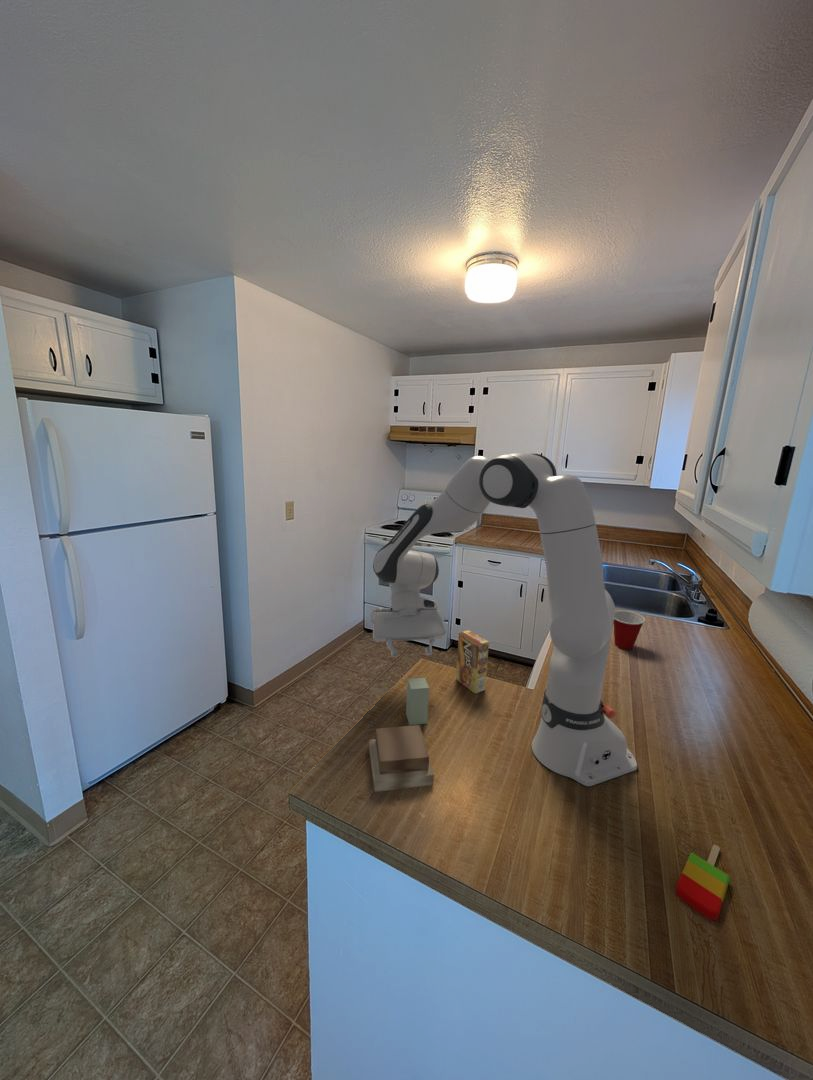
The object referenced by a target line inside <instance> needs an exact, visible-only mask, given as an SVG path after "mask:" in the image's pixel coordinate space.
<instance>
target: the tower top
mask: <svg viewBox="0 0 813 1080" xmlns="http://www.w3.org/2000/svg"><path fill="white" fill-rule="evenodd" d="M375 739H376V747H377V754H378V762H379V769H380V774H389V773H399V772H409V771H419V770H429V762H430V755H429V751H428V748H427V745H426V742H425V738H424V735H423V732H422V728H421V724H418V725H407V726H406V725H405V726H393V727H390V726H389V727H381V728H380V727H379V728H375Z"/></svg>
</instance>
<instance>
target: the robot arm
mask: <svg viewBox="0 0 813 1080" xmlns="http://www.w3.org/2000/svg"><path fill="white" fill-rule="evenodd" d="M557 473H558V472H557V469H556V466H555V465H554V463H553V462H552V460H551V459H550V458H548V457H547V456H544V455H543V454H539V453H526V452H514V453H513V452H512V453H508V454H501V455H500V454H499V455H498V456H495V457H494V458H492V459H490V458H488V457H486V456H482V455H474V456H472V457H470V458H468V459H467V460H466V461H465V462H463V464H462V465H461V466H460V467H459V469H458V470H457V471H456V472H455V473H454V475H453V476H452V477H451V479H450V481H449V482H448V483H447V485H446V486H445V488H444V489H443V491H441V493H440V494H438V495H437V497H435V498H434V499H432V500H430V501H429V502H427V503H425V504H422V505H420V506H419V507H418V508H417V509H416V510H415V511H414V512H413V513H412V514H411V516H409V517H408V519H407V520H406V521H405V523H404V524H403V525H401V527H400V529H398V531H397V532H396V533H395V534H394V535H393V537H392V538H391V539H390V541H388V542H387V543H386V544H385V545H384V546H383V547H381V548H380V549H378V551H377V553H376V554H375V556H374V559H373V564H372V567H373V572H374V574H375V576H376V577H377V578H378V579H379V580H380V581H381V582H382V583H385V584H388V585H389V589H390V592H391V593H390V599H389V600H390V607H384V608H375V609H374V610H372V611H371V613H370V621H371V623H373V628H372V639H373V640H374V641H375V642H376V643H383V642H384V643H385V644H386V647H387V648H388V649H389V651H390V655H391V658H397V657H398V648H394V646H393V642H402V641H403V642H405V641H407V642H408V641H422V640H424V641H425V640H427V643H428V644H429V645H428V646H426V648H425V649H424V652H425V656H431V655H432V654H433V649H432V648H433V645H434V643H435V640H442V639H443V638H444V636H445V635H446V634H447V633H446V632H447V630H446V624H445V620H444V617H443V615H442V613H441V611H440V610H438V609H439V603H438V602H437V600H436V601H435V600H433V599H429V598H426V597H422V596H421V594H420V593H421V592H420V591H421V590H422V589H426V588H428V587H430V586H432V584H434V582H436V580H437V579H438V576H439V572H440V569H439V563H438V560H437V558H436V557H435V556H434V555H433V554H432V553H428V552H423V551H418V550H413V549H412V548H413V547H414V546H415V545H416V544H417V543H418V542H419V540H421V539H422V538H424V537H426V536H429V535H433V534H439V533H440V534H441V533H452V532H460V531H461V532H462V531H464V530H467V529H469V528H471V527H472V526H473V525H474V524H475V523H476V522H477V521H478V520H479V519H480V517H481V516H482V515H483V513H484V512H485V510H486V509H487V508H488V506H489V504H490V503H492V504H496V505H499V506H505V507H509V508H510V507H512V508H519V509H526V508H527V507H529V508H530V509H531V510H533V512H534V514H535V517H536V520H537V524H538V531H539V536H540V542H541V546H542V550H543V556H544V562H545V570H546V577H547V578H546V581H547V584H546V585H547V601H548V613H549V634H550V639H551V641H552V644H553V649H552V651H551V652H552V654H551V656H550V660H549V667H548V675H547V682H546V688H545V689H544V692H543V697H542V698H543V699H542V704H541V705H542V706H541V719H540V722H539V725H538V729H537V731H536V733H535V736H534V738H533V739H532V742H531V749H532V752H533V755H534V756H535V758H537V760H538V761H539V762H540V763H541V764H542V765H543V766H544V767H546V768H547V769H549V770H551V771H552V772H554V773H556V774H558V775H561V776H565V777H567V778H570V779H573V780H575V781H576V782H578V783H579V784H581V785H583V786H586V787H592V786H595V785H597V784H601V783H604V782H606V781H609V780H612V779H614V778H618V777H620V776H623V775H626V774H629V773H631V772H635V771H636V770H637V769H638V764H637V763H638V762H637V760H636V757H635V756H634V755H633V753H632V752H631V751H630V749H629V748H628V745H627V744H628V743H627V740H626V737H625V735H624V733H623V732H622V730H620V728H619V727H618V726H617V725H616V724H615V723H614V722H613V721H611V719H614V718H615V717H616V715H617V712H616V710H615V709H613V708H612V707H611V706H610V705H605V704H604V702H603V701H602V700H601V699H602V698H601V697H602V691H603V687H604V678H605V673H606V667H607V664H608V663H607V662H608V656H609V650H610V646H611V639H612V635H613V634H612V633H613V630H614V618H615V611H616V606H615V603H614V600H613V598H612V596H611V594H610V593H609V592H608V590H607V589H606V587H605V580H604V579H605V578H604V563H603V562H604V561H603V556H602V551H601V545H600V540H599V534H598V533H599V532H598V528H597V524H596V518H595V514H594V510H593V506H592V504H591V499H590V497H589V495H588V492H587V490H586V487H585V484H584V483H583V481H582V480H581V479H580V478H579V477H577V476H574V475H569V474H558V475H557Z"/></svg>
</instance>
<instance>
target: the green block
mask: <svg viewBox="0 0 813 1080" xmlns="http://www.w3.org/2000/svg"><path fill="white" fill-rule="evenodd" d="M429 696H430V686H429V684H428V682H427V679H426V678H425V677H419V678H418V677H417V678H407V685H406V705H405V706H406V707H405V709H406V710H405V715H406V718H407V722H408V726H415V725H427V724H428V715H429V699H430V697H429Z"/></svg>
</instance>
